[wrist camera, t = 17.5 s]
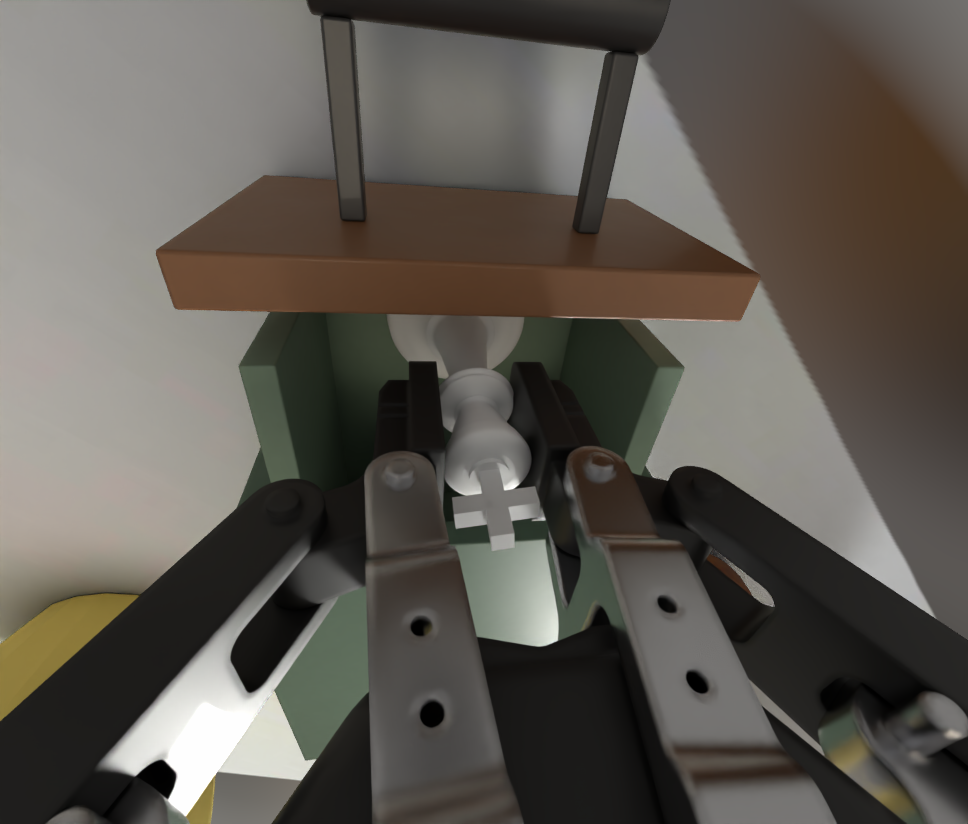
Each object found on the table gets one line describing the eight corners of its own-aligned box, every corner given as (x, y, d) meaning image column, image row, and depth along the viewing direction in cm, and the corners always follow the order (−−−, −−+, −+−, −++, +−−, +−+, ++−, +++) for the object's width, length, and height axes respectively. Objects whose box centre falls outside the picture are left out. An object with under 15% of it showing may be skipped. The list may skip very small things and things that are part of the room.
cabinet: (290, 368, 20) (215, 559, 12) (587, 369, 22) (686, 530, 14) (332, 578, 29) (305, 760, 21) (537, 563, 31) (580, 724, 23)
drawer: (219, -57, 11) (-13, -223, 5) (676, 8, 13) (914, -52, 7) (321, 490, 23) (289, 645, 17) (556, 481, 25) (605, 616, 19)
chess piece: (374, 251, 14) (334, 462, 7) (523, 238, 15) (655, 422, 7) (398, 378, 17) (392, 629, 10) (522, 364, 18) (614, 594, 10)
